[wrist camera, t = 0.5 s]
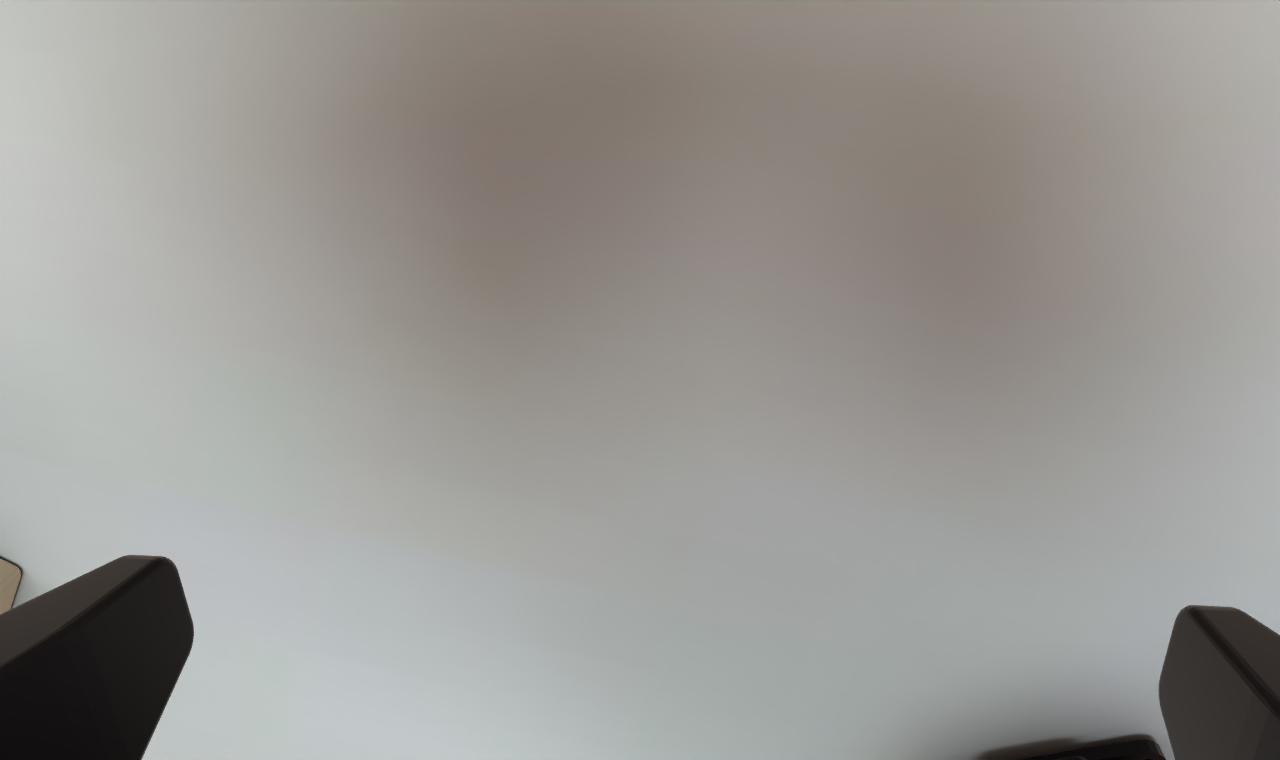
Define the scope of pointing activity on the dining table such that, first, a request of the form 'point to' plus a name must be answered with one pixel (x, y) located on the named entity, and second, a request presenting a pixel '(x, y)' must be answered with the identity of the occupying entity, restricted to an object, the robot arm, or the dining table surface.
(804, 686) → the dining table surface
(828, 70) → the dining table surface
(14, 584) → the skincare box
